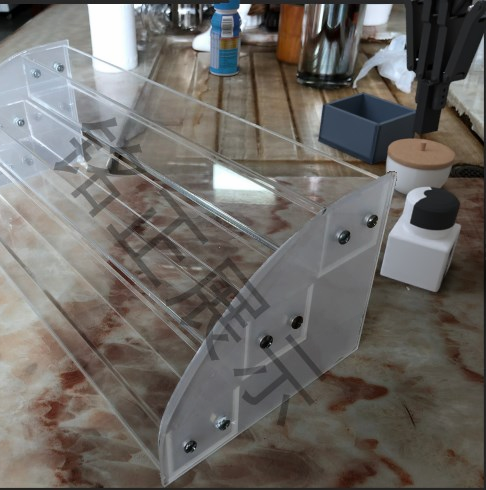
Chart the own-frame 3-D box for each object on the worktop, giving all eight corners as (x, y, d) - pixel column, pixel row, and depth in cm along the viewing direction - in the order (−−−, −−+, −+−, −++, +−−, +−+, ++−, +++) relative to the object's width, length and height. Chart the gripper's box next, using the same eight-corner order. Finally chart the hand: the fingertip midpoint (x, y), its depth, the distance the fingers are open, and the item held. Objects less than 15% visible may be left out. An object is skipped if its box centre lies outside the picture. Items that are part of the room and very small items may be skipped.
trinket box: (446, 183, 108) (459, 134, 102) (442, 210, 99) (456, 159, 94) (384, 173, 111) (394, 125, 106) (376, 198, 103) (386, 149, 98)
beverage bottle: (203, 73, 164) (204, -4, 153) (220, 65, 169) (223, -10, 158) (228, 79, 159) (231, -1, 148) (245, 71, 164) (250, -6, 153)
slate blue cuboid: (411, 149, 120) (371, 164, 114) (357, 127, 130) (317, 141, 124) (420, 111, 115) (378, 125, 110) (363, 91, 125) (322, 104, 120)
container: (448, 269, 86) (472, 189, 79) (435, 297, 80) (459, 215, 73) (394, 253, 89) (412, 176, 82) (378, 279, 84) (395, 199, 77)
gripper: (392, -74, 69) (368, 121, 81) (481, -71, 59) (438, 153, 71) (443, -79, 71) (413, 112, 83) (538, -77, 61) (488, 141, 73)
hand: (425, 130), depth 77 cm, fingers closed
